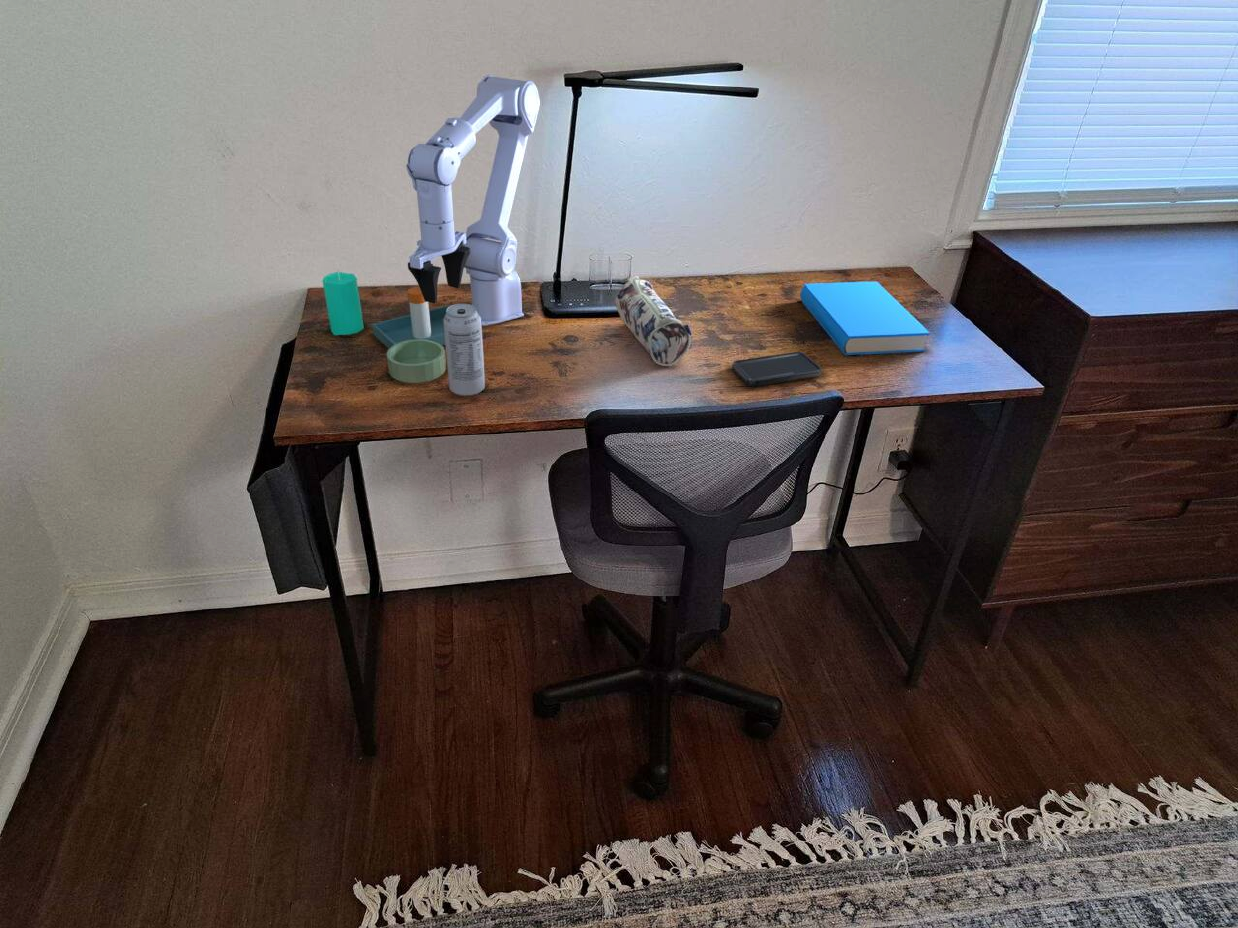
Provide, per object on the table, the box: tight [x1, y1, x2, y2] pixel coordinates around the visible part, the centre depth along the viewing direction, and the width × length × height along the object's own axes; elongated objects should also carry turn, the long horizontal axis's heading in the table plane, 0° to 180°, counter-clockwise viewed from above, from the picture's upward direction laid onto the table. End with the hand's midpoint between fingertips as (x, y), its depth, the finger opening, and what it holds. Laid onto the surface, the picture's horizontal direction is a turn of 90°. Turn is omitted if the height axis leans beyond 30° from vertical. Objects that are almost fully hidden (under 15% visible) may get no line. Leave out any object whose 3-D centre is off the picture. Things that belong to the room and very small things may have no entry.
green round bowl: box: [386, 339, 447, 384], centre depth 147 cm, size 10×10×4 cm
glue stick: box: [406, 286, 431, 339], centre depth 156 cm, size 4×4×9 cm
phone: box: [731, 351, 823, 387], centre depth 152 cm, size 8×1×15 cm
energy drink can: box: [443, 303, 486, 397], centre depth 139 cm, size 6×6×15 cm
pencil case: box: [614, 275, 693, 367], centre depth 158 cm, size 22×8×10 cm, turn 18°
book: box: [799, 281, 931, 356], centre depth 169 cm, size 17×4×25 cm
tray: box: [371, 304, 450, 349], centre depth 158 cm, size 16×11×2 cm
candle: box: [322, 269, 365, 336], centre depth 157 cm, size 6×6×12 cm
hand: (442, 294), depth 150 cm, fingers open, 7 cm apart
